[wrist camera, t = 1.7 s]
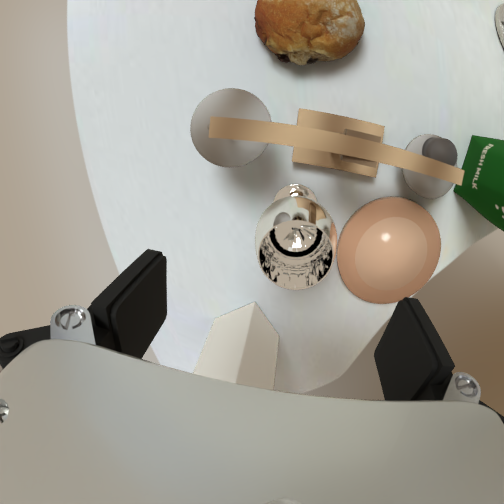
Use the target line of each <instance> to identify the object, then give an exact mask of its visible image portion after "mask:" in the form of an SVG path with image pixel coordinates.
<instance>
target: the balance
mask: <svg viewBox="0 0 504 504" xmlns="http://www.w3.org/2000/svg"><path fill="white" fill-rule="evenodd" d="M384 127H385V126H381V125H378V124H374V123H370V122H366V121H362V120H357V119H353V118H349V117H344V116H339V115H334V114H329V113H324V112H318V111H313V110H307V109H300V108H299V112H298V120H297V126H296V125H289V124H282V123H275V122H271V117H270V114H269V112H268V110H267V108H266V106H265V105H264V104H263V102H262V101H261V100H260V99H259V98H257V97H256V96H255V95H253V94H251V93H250V92H247V91H245V90H241V89H235V88H228V89H222V90H218V91H216V92H213V93H212V94H210V95H208V96H207V97H206V98H204V99H203V100H202V101H201V102H200V104H199V105H198V106H197V108H196V109H195V111H194V114H193V116H192V120H191V128H190V131H191V137H192V141H193V144H194V146H195V148H196V149H197V151H198V152H199V153H200V154H201V155H202V157H204V158H205V159H206V160H208V161H209V162H211V163H213V164H215V165H218V166H222V167H238V166H242V165H245V164H248V163H250V162H251V161H253V160H254V159H256V158H257V157H258V156H259V155H261V153H262V152H263V151H264V150H265V148H266V147H267V145H268V143H273V144H280V145H288V146H294V150H293V157H292V162H299V163H305V164H311V165H316V166H322V167H327V168H333V169H338V170H343V171H348V172H353V173H357V174H362V175H366V176H371V177H375V178H376V174H377V169H378V163H379V162H380V163H384V164H388V165H392V166H396V167H400V168H402V171H403V175H404V178H405V181H406V183H407V184H408V186H409V187H410V188H411V189H412V190H413V191H414V192H415V193H416V194H418V195H420V196H422V197H424V198H428V199H434V198H438V197H441V196H443V195H444V194H446V193H447V192H448V191H449V190H450V189H451V187H452V186H453V184H454V183H455V184H458V185H462V180H463V176H464V170H462V169H459V168H457V150H456V148H455V146H454V144H453V143H452V142H451V141H450V140H448V139H444V138H441V137H439V136H436V135H431V134H424V135H420V136H417V137H416V138H414V139H413V140H412V141H411V142H410V143H409V144H408V145H407V147H406V149H405V150H403V149H399V148H396V147H392V146H389V145H385V144H382V140H383V133H384Z"/></svg>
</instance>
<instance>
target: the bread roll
mask: <svg viewBox="0 0 504 504" xmlns="http://www.w3.org/2000/svg"><path fill="white" fill-rule="evenodd" d="M254 19H255V21H256V23H255V27H256V33H257V35H258V37H260V39H261V40H262V41H263V43H264V45H266V46H267V47H268V49H269V50H270V51H272V52H273V53H275V55H277V57H278V59H279V60H280V61H281V62H285V63H288V62H293V63H295V64H298V65H306V63H307V64H312V63H314V62H316V61H332V60H335V59H342V57H344V56H346V55H347V54H348V53H350V52H351V51H352V50H353V49H354V48H355V47H356V45H357V44H358V41H359V40H360V38H361V36H362V34H363V31H364V27H365V22H364V18H363V16H362V13H361V9H360V7H359V5H358V3H357V0H258V1H257V5H256V8H255V18H254ZM308 46H309V47H308Z"/></svg>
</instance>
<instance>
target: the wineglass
mask: <svg viewBox="0 0 504 504" xmlns="http://www.w3.org/2000/svg"><path fill="white" fill-rule="evenodd" d="M336 248H337V233H336V228H335V225H334V222H333V220H332V217H331V216H330V214H329V213H328V211H327V210H326V209H325V208H324V207H323V206H322V205H320V204H319V203H318V202H317V198H316V196H315V194H314V193H313V192H312V191H311V190H310V189H309V188H308V187H306V186H303V185H300V184H290V185H287V186H285V187H283V188H282V189H280V190H279V191H278V193H277V194H276V196H275V198H274V202H273V203H272V204H271V205H270V206H269V207H268V208H267V209H266V210H265V211H264V212H263V213H262V215H261V217H260V219H259V221H258V223H257V227H256V232H255V250H256V255H257V259H258V262H259V265H260V268H261V269H262V271H263V273H264V274H265V276H266V277H267V278H268V279H269V280H270V281H272V282H273V283H275V284H276V285H278V286H280V287H283V288H286V289H292V290H300V289H306V288H309V287H312V286H314V285H316V284H317V283H319V282H321V281H322V280H323V279H324V278H325V277H326V276H327V274H328V273H329V271H330V269H331V267H332V264H333V262H334V259H335V255H336Z"/></svg>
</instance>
